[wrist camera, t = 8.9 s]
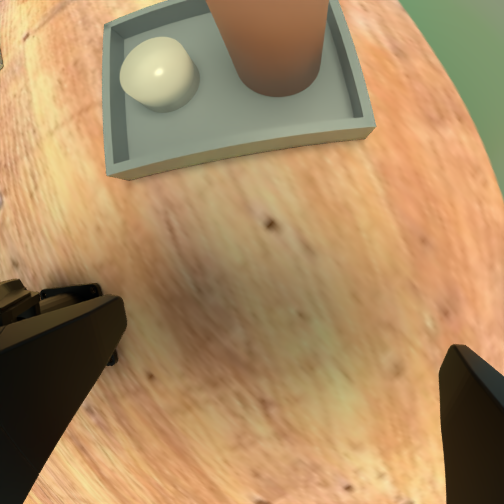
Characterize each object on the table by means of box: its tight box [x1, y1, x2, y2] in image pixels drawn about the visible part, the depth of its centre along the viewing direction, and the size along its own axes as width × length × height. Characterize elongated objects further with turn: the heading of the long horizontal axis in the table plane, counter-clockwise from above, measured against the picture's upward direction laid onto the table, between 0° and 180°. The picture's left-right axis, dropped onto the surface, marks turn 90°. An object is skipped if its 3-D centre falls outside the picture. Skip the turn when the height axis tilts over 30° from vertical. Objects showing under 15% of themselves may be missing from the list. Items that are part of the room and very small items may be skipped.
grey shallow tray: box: [102, 0, 376, 180], centre depth 18 cm, size 16×12×3 cm
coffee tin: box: [205, 0, 329, 97], centre depth 12 cm, size 6×6×13 cm
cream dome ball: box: [120, 37, 200, 113], centre depth 18 cm, size 4×4×3 cm
